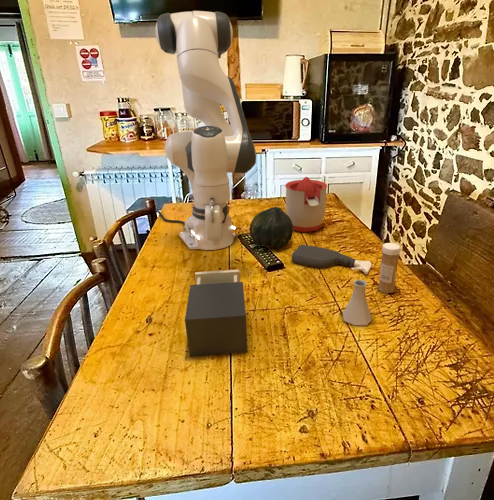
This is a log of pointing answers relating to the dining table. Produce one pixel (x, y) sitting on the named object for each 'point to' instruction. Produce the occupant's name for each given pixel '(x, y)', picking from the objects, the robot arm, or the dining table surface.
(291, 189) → the citrus juicer
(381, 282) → the sprinkles bottle
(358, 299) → the flask
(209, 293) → the dark grey box
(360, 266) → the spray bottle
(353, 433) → the dining table surface
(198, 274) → the tray
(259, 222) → the squash
